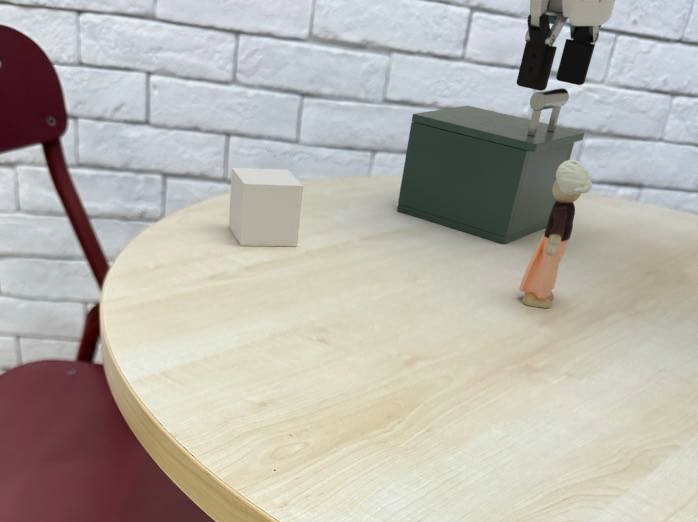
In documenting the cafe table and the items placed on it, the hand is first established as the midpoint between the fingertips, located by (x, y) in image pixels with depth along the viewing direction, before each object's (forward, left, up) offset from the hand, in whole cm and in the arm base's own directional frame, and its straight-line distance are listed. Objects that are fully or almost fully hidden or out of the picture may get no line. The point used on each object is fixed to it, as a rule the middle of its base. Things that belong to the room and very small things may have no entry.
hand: (550, 85), depth 91 cm
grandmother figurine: (-13, +20, -16) cm, 28 cm away
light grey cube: (+15, +28, -16) cm, 36 cm away
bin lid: (+5, 0, -6) cm, 7 cm away
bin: (+5, 0, -15) cm, 16 cm away
